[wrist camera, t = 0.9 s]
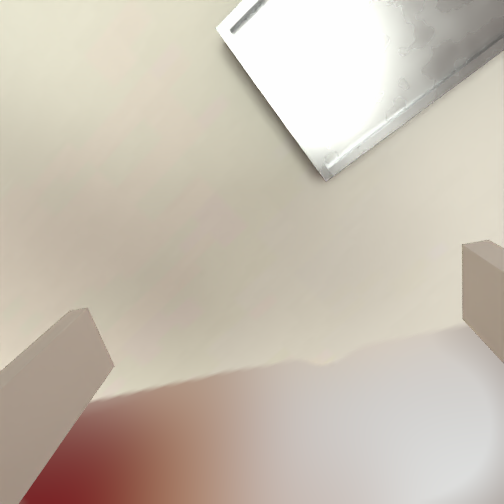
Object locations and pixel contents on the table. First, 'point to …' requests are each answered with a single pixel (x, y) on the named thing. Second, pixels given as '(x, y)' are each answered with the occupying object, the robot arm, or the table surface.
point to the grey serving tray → (358, 64)
